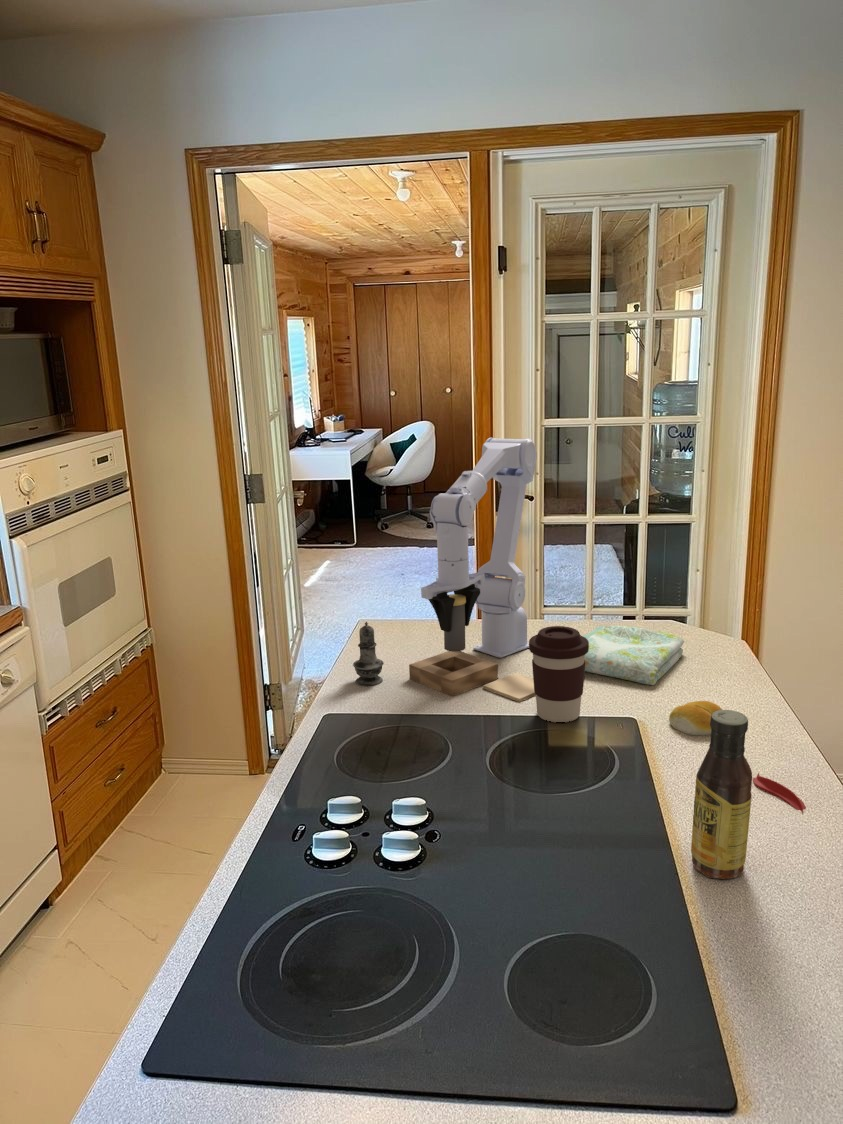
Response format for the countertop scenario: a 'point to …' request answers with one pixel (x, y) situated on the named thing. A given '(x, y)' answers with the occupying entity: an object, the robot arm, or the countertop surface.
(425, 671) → the wooden square frame
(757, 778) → the cayenne pepper
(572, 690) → the coffee cup
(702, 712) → the bread roll
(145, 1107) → the countertop surface
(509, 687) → the coaster
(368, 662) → the salt shaker
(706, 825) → the sauce bottle
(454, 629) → the plug
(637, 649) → the towel
